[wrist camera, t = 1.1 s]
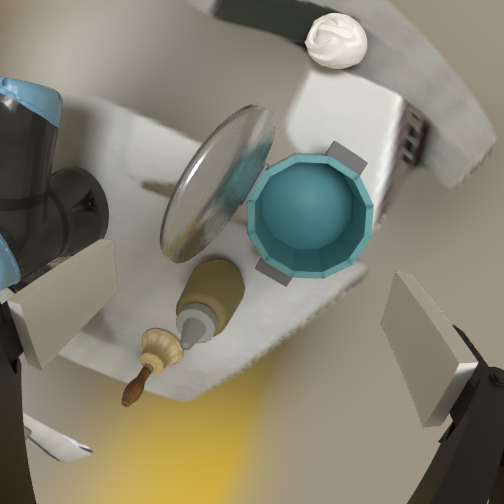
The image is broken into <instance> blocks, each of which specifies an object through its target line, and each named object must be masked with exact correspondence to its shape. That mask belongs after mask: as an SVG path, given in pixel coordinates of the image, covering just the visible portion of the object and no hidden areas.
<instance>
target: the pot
mask: <svg viewBox="0 0 504 504" xmlns="http://www.w3.org/2000/svg"><path fill="white" fill-rule="evenodd" d="M367 164H368V163H367V162H366V161H364V160H363V159H362V158H360V157H359V156H357V155H356V154H354V153H353V152H351V151H350V150H348V149H347V148H345V147H344V146H342V145H341V144H339V143H337V142H336V141H333V143H332V145H331V146H330V148H329V149H328V151H327V153H326V155H324V154H302V153H294V154H293V155H291V156H289V157H287V158H285V159H283V160H281V161H280V162H278V163H276V164H274V165H272V166H270V167H269V165H268V164H266V163H265V162H264V165H265V167H264V168H263V170H262V172H261V173H260V175H259V177H258V178H257V180H256V182H255V184H254V185H253V187H252V189H251V190H250V192H249V194H248V196H247V197H246V199H245V201H244V203H243V204H244V205H245V204H246V203H247V204H248V235H249V236H250V238H251V240H252V241H253V243H254V245H255V247H256V248H257V250H258V252H259V253H260V255H261V258H260V260H259V262H258V263H257V265H256V268H255V269H256V270H258V271H260V272H262V273H263V274H265V275H267V276H268V277H270V278H272V279H274V280H275V281H277V282H279V283H281V284H282V285H284V286H287V285H288V283H289V282H290V281H291V279H292V278H293V277H296V278H323V279H324V278H326V277H328V276H330V275H332V274H334V273H336V272H338V271H340V270H342V269H344V268H346V267H348V266H350V265H352V264H353V263H354V261H355V260H356V259H357V257H358V256H359V254H360V253H361V251H362V250H363V249H364V247H365V246H366V244H367V243H368V241H369V240H370V239H371V230H372V219H373V207H374V205H373V203H372V201H371V199H370V197H369V195H368V192H367V190H366V188H365V186H364V184H363V182H362V180H361V178H360V175H361V173H362V172H363V170H364V168H365V167H366V165H367ZM268 167H269V168H268ZM267 168H268V169H267Z"/></svg>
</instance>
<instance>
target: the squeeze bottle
mask: <svg viewBox="0 0 504 504" xmlns="http://www.w3.org/2000/svg"><path fill="white" fill-rule="evenodd" d="M244 289H245V287H244V283H243V279H242V276H241V274H240V272H239V270H238V269H237V267H236V266H235V265H234V264H233V263H231V262H230V261H228V260H223V259H218V260H212V261H207V262H203V263H202V264H200V265H199V266H197V267H196V268H195V269H194V271H193V273H192V274H191V276H190V278H189V280H188V282H187V284H186V286H185V288H184V291H183V293H182V295H181V297H180V299H179V301H178V303H177V307H176V315H177V319H176V326H177V328H178V331H179V332H180V334H181V341H180V346H181V348H182V349H184V350H189V349H190V348H191V347H192V346H193V345H194V344H195V343H205V342H207V341H209V340H211V338H212V337H214V336H216V335H218V334H220V333H221V332H222V331H223V330H224V328H225V327H226V326H227V324H228V322H229V321H230V319H231V317H232V315H233V314H234V312H235V310H236V309H237V307H238V305H239V304H240V302H241V300H242V299H243V295H244Z"/></svg>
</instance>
